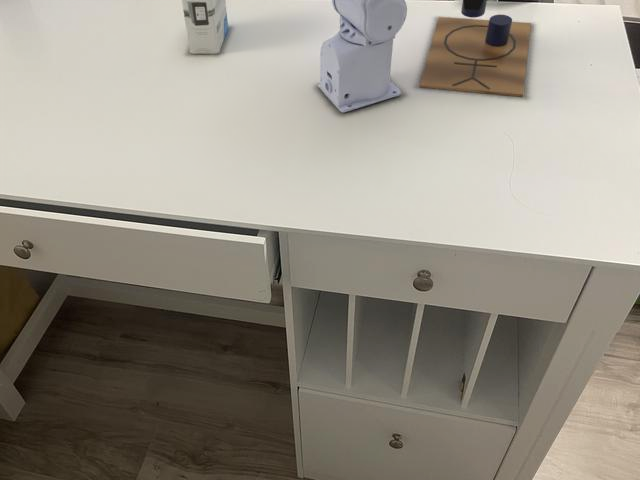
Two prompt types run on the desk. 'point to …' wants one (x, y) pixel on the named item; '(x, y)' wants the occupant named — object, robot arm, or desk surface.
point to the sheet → (476, 58)
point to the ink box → (205, 25)
